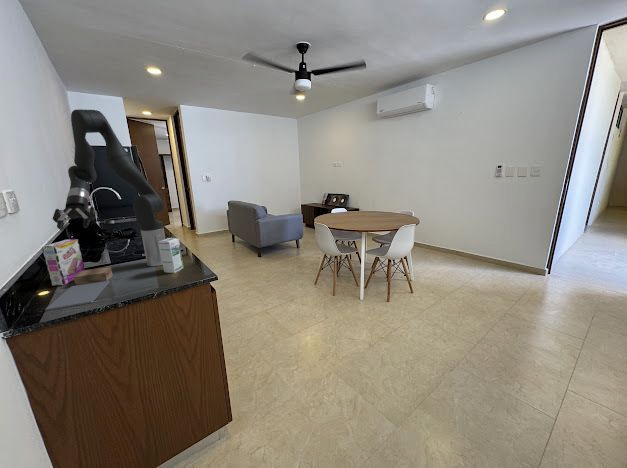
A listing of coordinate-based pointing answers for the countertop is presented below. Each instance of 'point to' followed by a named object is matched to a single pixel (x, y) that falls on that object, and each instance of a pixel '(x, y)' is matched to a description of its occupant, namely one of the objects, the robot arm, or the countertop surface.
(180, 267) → the syrup box
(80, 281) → the walnut step
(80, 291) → the mat
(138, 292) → the countertop surface
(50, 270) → the candy bar box
